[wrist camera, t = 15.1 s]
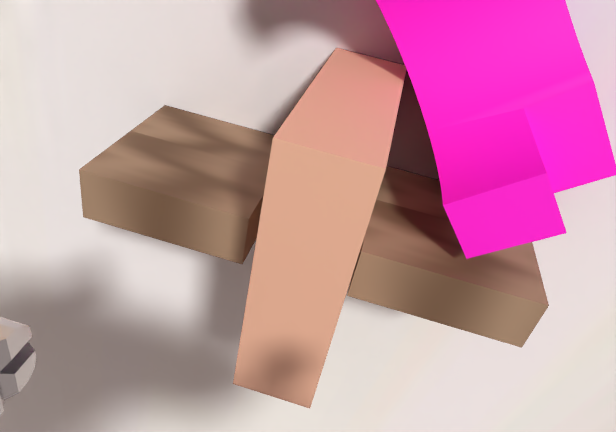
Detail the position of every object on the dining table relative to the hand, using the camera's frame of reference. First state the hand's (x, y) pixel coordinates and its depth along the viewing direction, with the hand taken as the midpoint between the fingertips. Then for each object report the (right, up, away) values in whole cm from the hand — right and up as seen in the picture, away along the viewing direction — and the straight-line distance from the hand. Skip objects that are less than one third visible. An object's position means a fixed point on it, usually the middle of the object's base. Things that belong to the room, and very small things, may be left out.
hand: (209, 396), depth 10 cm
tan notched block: (+4, +7, +17) cm, 18 cm away
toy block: (+9, +13, +12) cm, 20 cm away
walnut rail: (+3, +6, +17) cm, 19 cm away
